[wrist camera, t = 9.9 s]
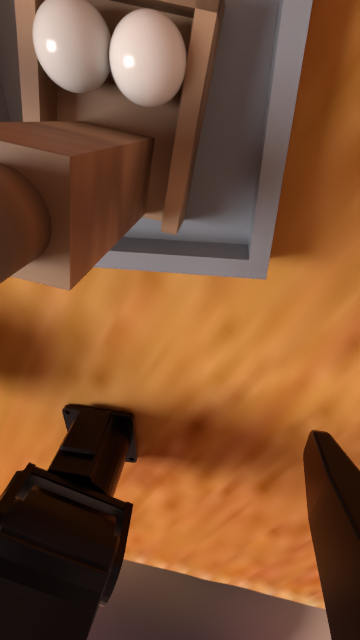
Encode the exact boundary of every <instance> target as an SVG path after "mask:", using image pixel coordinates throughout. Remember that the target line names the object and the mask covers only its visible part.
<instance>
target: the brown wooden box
mask: <svg viewBox="0 0 360 640" xmlns="http://www.w3.org/2000/svg"><path fill="white" fill-rule="evenodd" d="M44 1H45V0H15V14H16V28H17V43H18V57H19V71H20V86H21V100H22V115H23V122H0V283H1V282H3V281H4V280H6V279H7V278H9V277H10V276H11V277H15V278H19V279H24V280H28V281H32V282H36V283H40V284H44V285H48V286H52V287H56V288H61V289H65V290H69V291H70V290H71V289H72V288H73V287H74V286H75V285H76V284H77V283H78V282H79V281H80V280H81V279H82V278H83V277H84V276H85V275H86V274H87V273H88V272H89V271H90V270H91V269H92V268H93V267H94V266H95V265H96V264H97V263H98V262H99V260H100V259H101V258H102V257H103V256H104V255H105V254H106V253H107V252H108V251H109V250H110V249H111V248H112V247H113V246H114V245H115V244H116V243H117V242H118V241H119V240H120V239H121V238H122V237H123V236H124V235H125V234H126V233H127V232H128V231H129V230H130V229H131V228H132V227H133V226H134V225H135V224H136V223H137V222H138V221H139V220H140V219H141V218H142V217H145V218H149V219H153V220H158V221H162V224H161V232H166V233H170V234H174V235H176V234H177V232H178V231H179V229H180V227H181V225H182V223H183V221H184V218H185V213H186V207H187V202H188V197H189V192H190V187H191V181H192V176H193V171H194V166H195V161H196V156H197V150H198V145H199V140H200V135H201V130H202V124H203V119H204V114H205V109H206V104H207V99H208V93H209V88H210V83H211V78H212V73H213V68H214V62H215V57H216V52H217V47H218V42H219V36H220V31H221V26H222V21H223V16H224V11H225V0H87V1H89V2H90V3H91V4H92V5H93V6H94V7H95V8H96V9H97V10H98V11H99V13H100V14H101V15H102V17H103V19H104V20H105V22H106V24H107V26H108V29H109V32H110V34H111V38H112V35H113V33H114V30H115V28H116V27H117V25H118V23H119V22H120V21H121V20H122V19H123V18H124V17H125V16H126V15H127V14H129V13H130V12H132V11H134V10H137V9H142V8H150V9H154V10H157V11H160V12H161V13H163V14H165V15H166V16H168V17H169V18H170V19H171V20H172V21H173V22H174V24H175V25H176V26H177V28H178V30H179V31H180V33H181V35H182V37H183V40H184V44H185V48H186V54H187V64H186V70H185V77H184V81H183V84H182V86H181V88H180V90H179V91H178V93H177V94H176V95H175V96H174V97H173V99H171V100H170V101H169V102H167V103H166V104H164V105H162V106H159V107H153V108H147V107H142V106H139V105H137V104H135V103H133V102H131V101H130V100H129V99H128V98H127V97H125V96H124V94H123V93H122V92H121V91H120V89H119V88H118V86H117V84H116V82H115V80H114V78H113V75H112V72H111V71H110V73H109V75H108V77H107V79H106V80H105V82H104V83H103V84H102V85H101V86H100V87H99V88H97V89H96V90H94V91H92V92H88V93H74V92H70V91H67V90H65V89H63V88H62V87H60V86H59V85H57V84H56V83H55V82H54V81H53V80H52V79H51V78H50V77H49V76H48V75H47V74H46V72H45V71H44V69H43V68H42V66H41V64H40V62H39V60H38V58H37V55H36V52H35V49H34V44H33V34H32V33H33V22H34V18H35V15H36V12H37V10H38V8H39V7H40V5H41V4H42V3H43V2H44Z"/></svg>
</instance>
